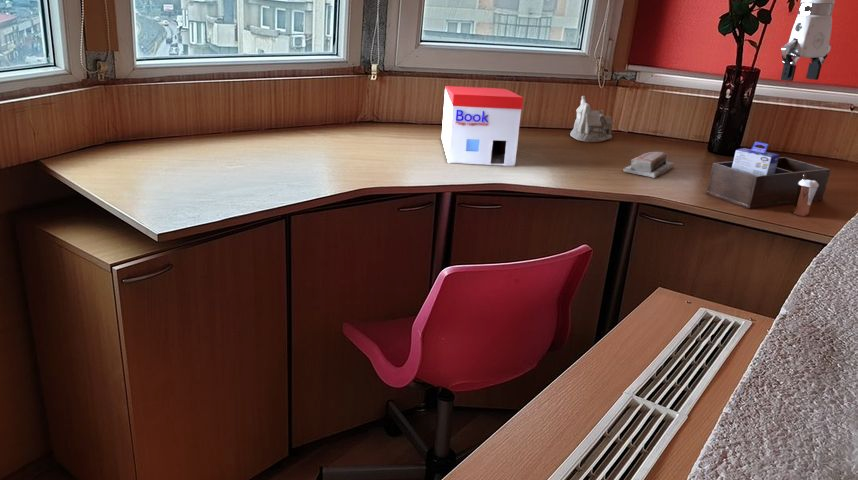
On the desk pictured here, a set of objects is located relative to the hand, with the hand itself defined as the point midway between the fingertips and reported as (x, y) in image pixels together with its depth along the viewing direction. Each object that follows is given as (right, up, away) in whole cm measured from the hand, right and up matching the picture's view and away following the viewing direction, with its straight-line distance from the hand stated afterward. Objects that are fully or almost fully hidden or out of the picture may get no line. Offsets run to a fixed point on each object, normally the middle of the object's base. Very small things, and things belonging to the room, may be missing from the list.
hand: (799, 79), depth 189 cm
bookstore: (-79, -12, +48) cm, 93 cm away
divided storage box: (-3, -30, +11) cm, 32 cm away
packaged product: (-27, -20, +34) cm, 48 cm away
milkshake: (-1, -36, -2) cm, 36 cm away
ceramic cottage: (-33, -2, +77) cm, 84 cm away
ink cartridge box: (-10, -30, +8) cm, 32 cm away
